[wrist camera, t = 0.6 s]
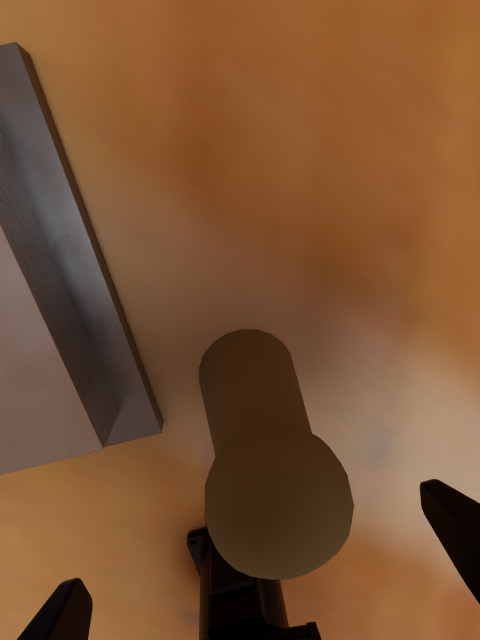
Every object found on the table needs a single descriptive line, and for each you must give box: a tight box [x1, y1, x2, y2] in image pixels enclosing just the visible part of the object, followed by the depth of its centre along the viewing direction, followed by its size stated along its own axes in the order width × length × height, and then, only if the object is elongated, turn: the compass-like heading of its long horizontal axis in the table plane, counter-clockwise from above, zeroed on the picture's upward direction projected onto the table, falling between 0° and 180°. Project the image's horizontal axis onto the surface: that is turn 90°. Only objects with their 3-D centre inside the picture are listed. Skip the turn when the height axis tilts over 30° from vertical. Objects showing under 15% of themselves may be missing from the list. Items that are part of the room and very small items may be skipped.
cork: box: [199, 330, 354, 580], centre depth 15 cm, size 6×6×11 cm
